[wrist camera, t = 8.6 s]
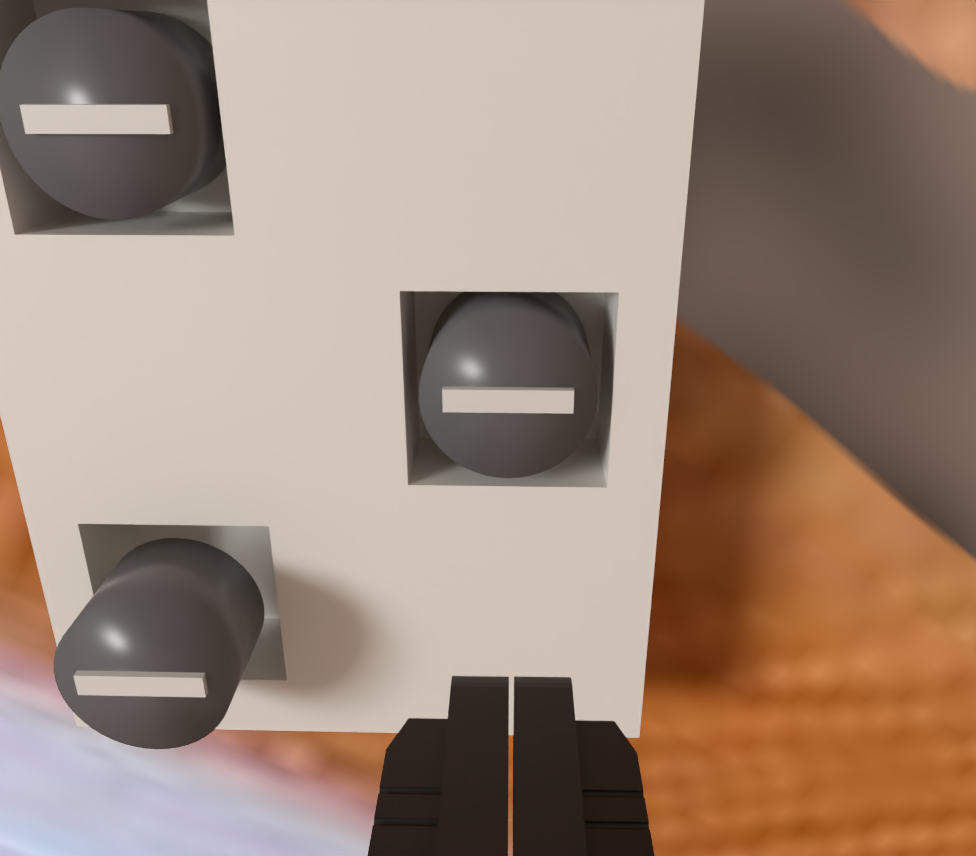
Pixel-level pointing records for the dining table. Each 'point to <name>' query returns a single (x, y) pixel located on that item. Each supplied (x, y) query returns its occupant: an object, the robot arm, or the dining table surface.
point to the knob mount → (368, 345)
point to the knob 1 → (113, 110)
